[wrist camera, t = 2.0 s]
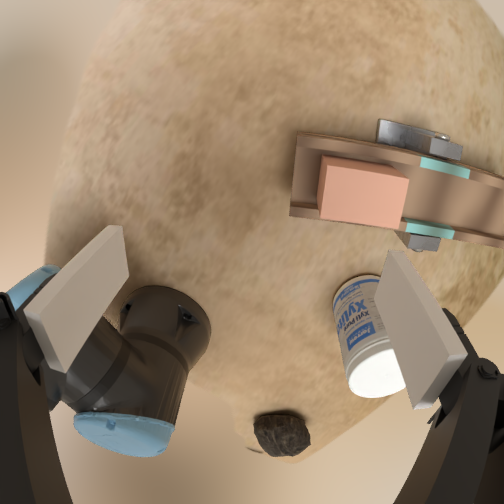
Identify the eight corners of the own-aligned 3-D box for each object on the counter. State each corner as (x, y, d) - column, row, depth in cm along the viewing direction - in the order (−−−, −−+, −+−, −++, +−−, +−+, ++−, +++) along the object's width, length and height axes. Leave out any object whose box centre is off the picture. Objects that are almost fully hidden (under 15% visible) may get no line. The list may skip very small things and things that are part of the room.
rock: (244, 416, 58) (249, 457, 50) (294, 399, 57) (304, 441, 48) (263, 432, 63) (269, 468, 55) (309, 417, 62) (318, 454, 53)
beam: (290, 194, 36) (289, 218, 29) (297, 127, 32) (297, 134, 26) (493, 228, 33) (522, 254, 26) (507, 175, 30) (541, 193, 23)
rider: (316, 198, 30) (319, 218, 25) (321, 153, 28) (327, 165, 23) (382, 207, 29) (398, 229, 24) (391, 165, 27) (409, 179, 22)
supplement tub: (340, 268, 41) (364, 344, 28) (400, 275, 41) (438, 346, 28) (324, 322, 46) (336, 399, 33) (379, 326, 46) (403, 398, 33)
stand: (362, 220, 38) (381, 250, 30) (378, 118, 31) (406, 124, 24) (427, 228, 37) (455, 258, 30) (447, 135, 31) (483, 147, 24)
